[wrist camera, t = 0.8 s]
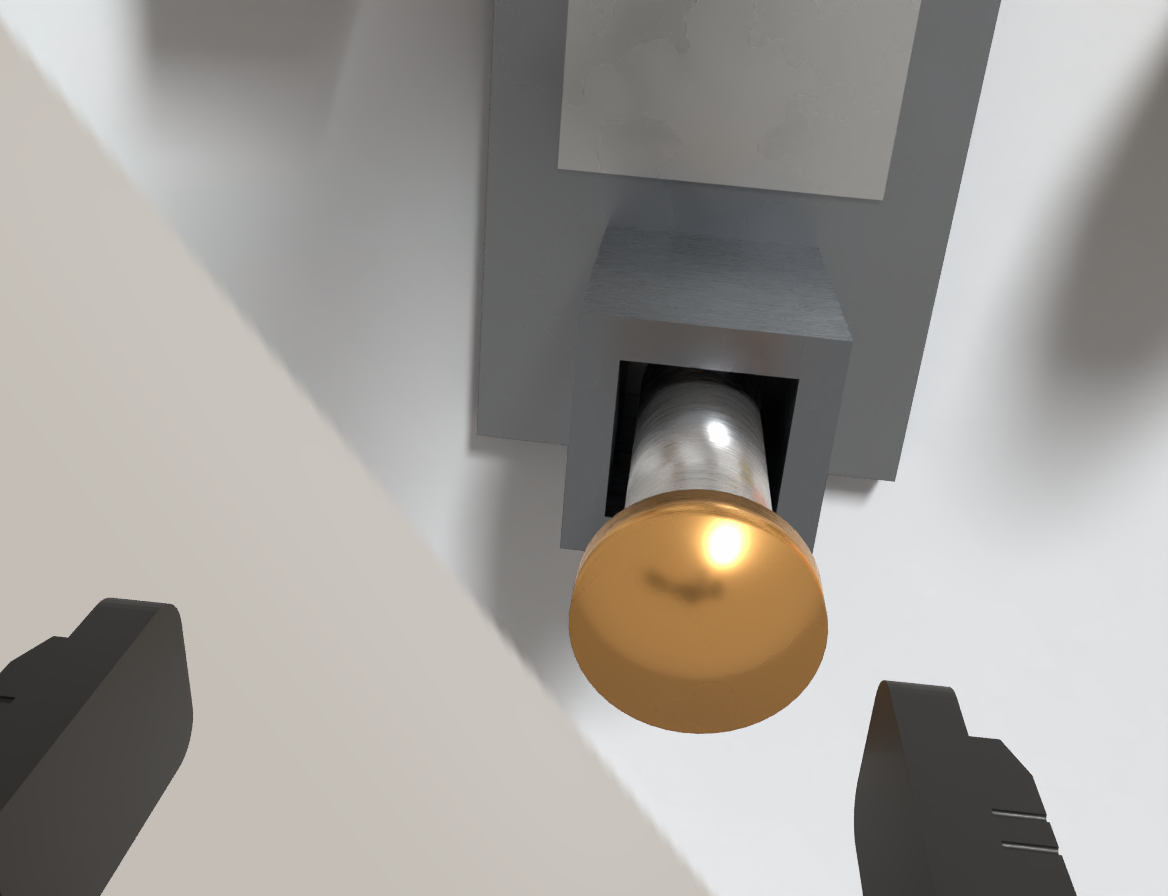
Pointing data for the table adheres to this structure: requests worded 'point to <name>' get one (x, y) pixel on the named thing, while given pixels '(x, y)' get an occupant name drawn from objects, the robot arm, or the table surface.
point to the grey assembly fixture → (720, 223)
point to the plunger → (698, 569)
